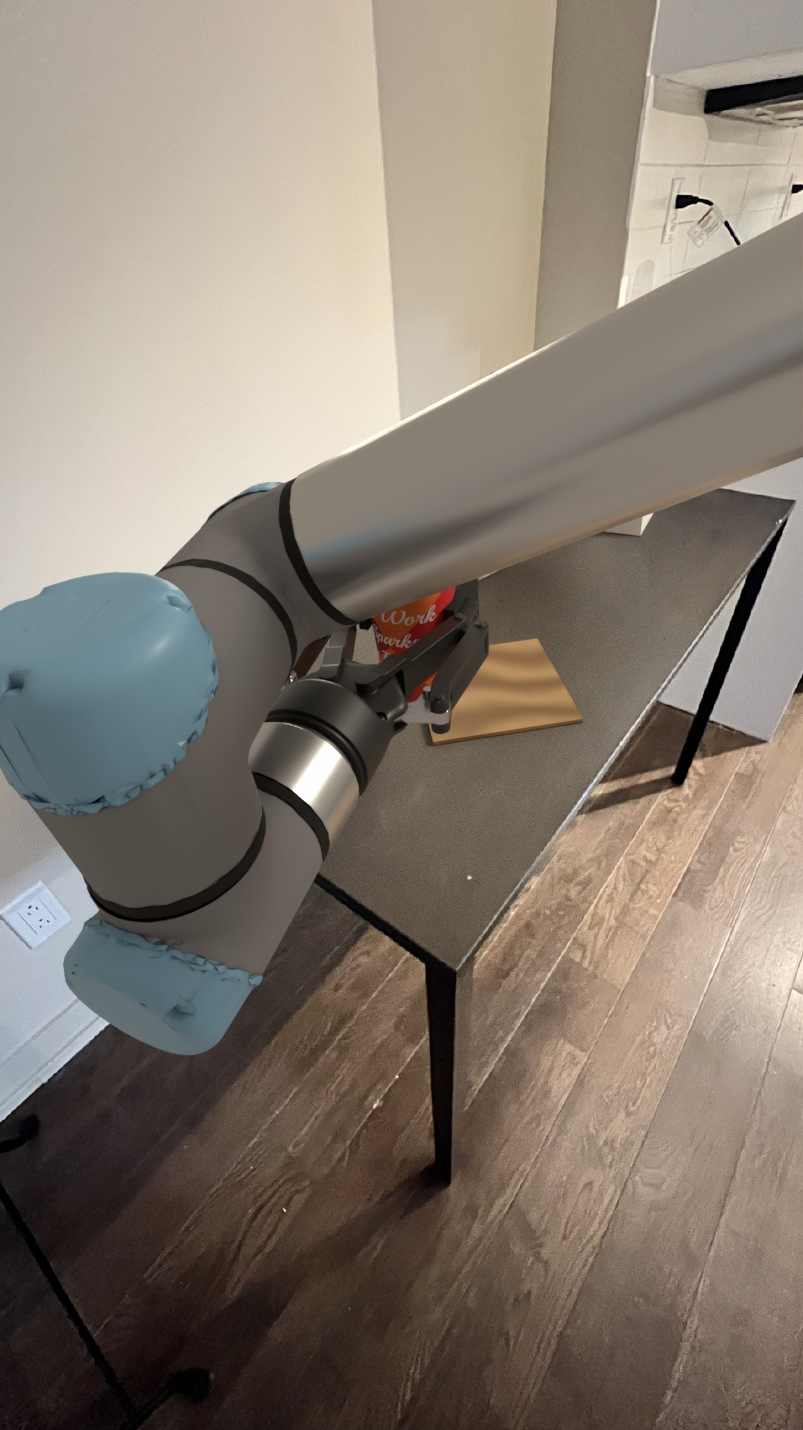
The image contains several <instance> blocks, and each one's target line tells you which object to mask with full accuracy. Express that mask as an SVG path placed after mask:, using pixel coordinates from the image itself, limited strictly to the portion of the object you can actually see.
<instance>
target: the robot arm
mask: <svg viewBox="0 0 803 1430" xmlns="http://www.w3.org/2000/svg"><path fill="white" fill-rule="evenodd" d="M492 373H493V374H491V375H490V374H488V375H489V376H488V375H487V376H485V377H483V378H482V379H479V380H478V381H476V382H474V383H472V384H470V385H468V386H466V387H464V388H462V389H461V390H459V391H457V392H454V393H452V394H450V395H448V396H447V397H444V398H443V399H441V400H439V401H437V402H436V403H433V404H431V405H429V406H428V407H426V408H423V409H422V410H420V411H417V412H416V413H415V414H413V415H411V416H409V417H407V418H405V419H403V420H401V421H398V422H397V423H395V424H393V425H391V426H390V427H387V428H386V429H384V430H382V431H380V432H378V433H376V434H374V435H372V436H370V437H368V438H366V439H365V440H362V441H360V442H358V443H356V444H354V445H353V446H351V447H349V448H347V449H345V450H343V451H341V452H340V453H337V454H336V455H334V456H332V457H330V458H328V459H326V460H324V461H322V462H320V463H318V464H316V465H315V466H313V467H311V468H309V469H307V470H305V471H303V472H301V473H299V474H298V475H297V476H296V477H294V478H292V479H290V480H287V481H285V482H281V481H271V482H270V481H268V482H261V483H257V484H253V485H251V486H249V487H247V488H245V489H244V490H243V491H241V492H240V493H238V494H237V495H235V496H233V497H231V498H229V499H228V500H227V501H226V502H224V503H223V504H221V505H220V506H218V507H217V508H216V509H214V510H213V511H211V513H210V514H209V516H208V517H207V519H206V520H205V522H204V523H203V524H202V526H201V527H200V528H199V530H197V532H195V534H194V535H192V537H190V539H189V540H188V541H187V542H186V543H185V544H184V545H183V546H182V547H181V548H180V549H179V550H178V551H177V552H176V553H175V554H174V555H172V557H171V558H170V559H169V560H168V561H167V562H166V563H165V564H164V565H163V566H162V567H161V569H159V570H158V571H157V572H156V573H154V574H148V573H141V572H129V571H112V572H111V571H110V572H101V573H95V574H89V575H88V574H87V575H82V576H78V577H74V578H70V579H67V580H63V581H60V582H57V583H53V584H50V585H48V586H45V587H43V588H42V590H41V591H40V593H38V594H37V595H34V596H32V597H30V598H26V599H23V600H18V601H14V602H12V603H9V604H7V605H6V606H4V607H3V608H2V609H0V770H1V772H2V774H3V776H4V778H5V779H6V781H7V783H8V784H9V786H10V787H11V788H12V789H14V791H15V792H16V793H17V794H18V796H19V797H20V798H21V799H22V800H24V801H26V802H27V803H28V804H29V806H30V807H31V808H32V810H33V811H34V812H35V814H36V815H37V817H38V818H39V819H40V820H41V822H42V823H43V824H44V826H45V827H46V828H47V830H48V831H49V833H50V834H51V835H52V836H53V838H54V839H55V841H56V842H57V843H58V845H59V846H60V847H61V849H62V850H63V852H65V854H66V856H68V858H69V859H70V861H71V862H72V863H73V864H74V866H75V868H76V869H77V870H78V871H79V872H80V874H81V875H82V878H83V881H84V883H85V885H86V890H87V892H88V895H89V898H90V899H91V900H92V902H93V903H94V905H95V906H96V908H97V909H98V911H97V912H96V913H95V914H94V915H92V916H91V917H89V918H88V919H87V920H86V921H84V922H83V925H82V929H81V931H80V932H79V934H78V936H77V937H76V938H75V940H74V941H73V943H72V945H70V947H69V948H68V950H67V951H66V952H65V955H64V958H63V963H62V967H63V973H64V974H63V976H64V982H65V984H66V986H67V987H68V989H69V990H70V991H71V993H72V994H73V995H74V996H75V997H76V998H77V999H78V1000H79V1001H80V1002H81V1003H82V1004H83V1005H85V1006H86V1007H87V1008H88V1009H89V1010H90V1011H92V1012H93V1013H94V1014H96V1015H97V1016H98V1017H100V1018H101V1019H103V1020H104V1021H105V1022H107V1023H108V1024H110V1025H112V1026H113V1027H115V1028H116V1029H118V1030H119V1031H121V1032H123V1034H126V1035H128V1036H129V1037H132V1038H134V1039H136V1040H138V1041H139V1042H141V1043H144V1044H146V1045H149V1046H150V1047H153V1048H156V1049H159V1050H161V1051H164V1052H166V1053H170V1054H175V1055H178V1056H179V1055H180V1056H195V1055H196V1056H197V1055H200V1054H204V1053H206V1052H208V1051H209V1050H211V1049H212V1048H214V1047H215V1046H216V1045H217V1044H219V1042H220V1041H221V1040H222V1039H223V1037H224V1036H225V1034H226V1032H227V1031H228V1029H229V1028H230V1026H231V1025H232V1023H233V1021H234V1019H235V1017H236V1016H237V1014H238V1013H239V1012H240V1010H241V1008H242V1006H243V1005H244V1003H245V1001H246V1000H247V998H248V997H249V995H250V993H251V992H252V990H253V989H255V988H256V987H258V986H260V984H261V983H262V981H263V980H264V979H263V978H264V975H263V974H264V973H265V971H266V969H267V967H268V966H269V964H270V962H271V960H272V959H273V956H274V955H275V952H276V950H277V948H278V947H279V945H280V944H281V941H282V940H283V937H284V936H285V934H286V932H287V930H288V928H289V926H290V925H291V923H292V921H293V920H294V918H295V915H296V914H297V912H298V910H299V908H300V906H301V905H302V903H303V902H304V899H305V897H306V896H307V894H308V892H309V890H310V888H311V886H312V884H313V883H314V881H315V879H316V878H317V875H318V873H319V871H320V869H321V867H322V866H323V863H325V860H326V858H327V857H328V855H329V854H330V853H331V851H332V849H333V848H334V845H335V844H336V841H337V840H338V838H339V837H340V834H341V833H342V831H343V829H344V827H345V826H346V824H347V822H348V820H349V819H350V817H351V816H352V813H353V812H354V810H355V808H356V807H357V804H358V802H359V798H360V797H361V796H362V795H363V794H364V792H366V789H367V787H368V786H369V784H370V783H371V781H372V779H373V777H374V775H375V773H376V771H377V770H378V768H379V766H380V765H381V763H382V761H383V759H384V757H385V755H386V753H387V750H388V748H389V745H390V743H391V741H392V739H393V738H394V737H396V736H397V735H398V734H400V733H401V732H402V731H404V730H406V728H407V727H408V725H409V724H421V725H422V724H427V725H428V724H431V727H432V731H433V732H434V733H436V734H445V733H447V732H448V731H449V730H450V727H451V714H452V710H453V709H454V707H455V705H456V704H457V702H458V701H459V699H460V698H461V696H462V695H463V693H464V692H465V690H466V689H467V687H468V685H469V684H470V682H471V681H472V679H473V678H474V676H475V675H476V673H477V672H478V670H479V669H480V667H481V666H482V664H483V662H484V661H485V659H486V658H487V656H488V655H489V645H490V624H489V622H488V621H485V620H480V600H479V581H478V578H479V577H482V576H484V575H487V574H490V573H492V572H495V571H497V572H499V571H500V570H504V569H506V568H508V567H512V566H514V565H516V564H520V563H522V562H524V561H527V560H530V559H533V558H535V557H538V556H540V555H543V554H546V553H549V552H553V551H554V550H557V549H559V548H562V547H566V546H567V545H571V544H574V543H576V542H578V541H581V540H583V539H586V538H590V537H592V536H595V535H598V534H600V533H603V532H605V531H606V530H608V529H611V528H614V527H616V526H619V525H622V524H624V523H627V522H630V521H632V520H635V519H638V518H640V517H643V516H646V515H649V514H651V513H653V514H654V513H656V512H660V511H662V510H665V509H668V508H670V507H674V506H676V505H678V504H681V503H683V502H686V501H689V500H692V499H694V498H696V497H699V496H702V495H705V494H707V493H708V494H709V493H710V492H713V491H715V490H718V489H721V488H724V487H726V486H729V485H732V484H735V483H737V482H740V481H742V480H745V479H748V478H750V477H754V476H756V475H759V474H761V473H765V472H767V471H769V470H772V469H774V468H775V469H776V468H777V467H780V466H783V465H785V464H788V463H791V462H795V461H797V460H799V459H802V458H803V211H802V212H800V213H798V214H796V215H794V216H792V217H791V218H790V217H789V218H788V219H786V220H784V221H783V222H780V223H779V224H777V225H775V226H773V227H771V228H769V229H768V230H765V231H764V232H761V233H759V234H758V235H756V236H753V237H752V238H750V239H748V240H746V241H744V242H742V243H741V244H739V245H736V246H735V247H732V248H731V249H729V250H727V251H725V252H724V253H721V254H720V255H718V256H716V257H714V258H712V259H710V260H708V261H706V262H704V263H702V264H700V265H698V266H696V267H694V268H693V269H691V270H688V271H687V272H685V273H683V274H681V275H679V276H676V277H675V278H673V279H672V280H669V281H667V282H666V283H664V284H662V285H660V286H658V287H657V288H654V289H652V290H650V291H648V292H646V293H644V294H642V295H641V296H639V297H637V298H635V299H633V300H631V301H629V302H628V303H625V304H623V305H621V306H620V307H618V308H616V309H614V310H612V311H610V312H607V313H606V314H604V315H603V316H600V317H598V318H597V319H595V320H593V321H591V322H588V323H587V324H585V325H583V326H581V327H579V328H577V329H576V330H574V331H571V332H570V333H568V334H566V335H564V336H562V337H560V338H559V339H557V340H555V341H553V342H550V343H549V344H547V345H544V346H543V347H541V348H538V349H537V350H535V351H533V352H531V353H530V354H527V355H525V356H524V357H522V358H520V359H518V360H516V361H514V362H512V363H510V364H508V365H507V366H504V367H502V368H501V369H499V370H497V371H495V372H492ZM495 573H496V572H495ZM452 587H454V588H455V587H457V588H456V589H455V590H454V597H453V599H452V601H451V602H450V603H449V604H448V605H447V606H446V607H445V609H444V614H445V621H444V622H443V623H441V624H440V625H439V626H437V627H436V628H435V629H433V630H432V631H431V632H429V633H428V634H426V635H425V636H424V637H422V638H421V639H420V640H418V641H417V642H416V643H414V644H413V645H412V646H410V647H409V648H408V649H406V650H405V651H404V652H402V653H401V654H400V655H398V654H395V653H392V654H390V655H389V656H388V657H386V658H385V659H384V660H382V661H381V662H380V661H379V662H378V663H370V664H369V663H366V664H365V663H362V662H359V661H356V660H353V658H354V652H355V646H356V641H357V640H356V639H357V635H358V634H357V633H358V629H359V630H362V631H363V630H364V631H369V630H370V629H371V627H373V625H372V620H371V617H374V616H377V615H379V614H382V613H385V612H388V611H390V610H393V609H396V608H398V607H401V606H404V605H406V604H409V603H412V602H414V601H417V600H420V599H423V598H425V597H428V596H431V595H433V594H436V593H439V592H441V591H444V590H447V589H449V588H452ZM357 626H358V628H357ZM328 642H329V643H328ZM327 643H328V646H327ZM324 648H325V650H324ZM323 650H324V654H323V658H322V663H321V665H320V666H319V669H318V670H315V671H313V672H311V673H309V671H310V670H311V668H312V667H313V665H314V664H315V662H316V660H317V659H318V658H319V656H320V654H321V653H322V651H323ZM437 671H438V672H437ZM436 672H437V673H436ZM308 673H309V674H308ZM435 673H436V675H435V676H434V678H433V680H432V683H431V687H430V686H425V687H424V688H423V693H422V694H421V695H420V696H419V698H418V699H417V700H416V701H414V702H408V701H409V700H410V699H411V697H412V695H413V692H414V690H415V689H416V688H417V687H419V686H420V685H421V684H422V683H424V682H425V681H426V680H427V679H428V678H430V677H431V676H432V675H433V674H435Z"/></svg>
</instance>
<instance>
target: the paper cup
mask: <svg viewBox="0 0 803 1430" xmlns="http://www.w3.org/2000/svg"><path fill="white" fill-rule="evenodd" d="M454 593H455V587H452V588H449V589H447V590H444V591H441V592H439V593H436V594H433V595H431V596H428V597H425V598H423V599H420V600H417V601H414V602H412V603H409V604H406V605H404V606H401V607H398V608H396V609H393V610H390V611H388V612H385V613H382V614H379V615H377V616H374V617H371V620H372V630H373V635H374V640H375V645H376V650H377V655H378V661H379V663H380V662H381V661H382V660H384V659H385V658H386V657H388V656H389V655H390V654H392V653H395V654H398V655H400V654H401V653H402V652H404V651H405V650H406V649H408V648H409V647H410V646H412V645H413V644H414V643H416V642H417V641H418V640H420V639H421V638H422V637H424V636H425V635H426V634H428V633H429V632H431V631H432V630H433V629H435V628H436V627H437V626H439V625H440V624H441V623H443V622H444V621H445V614H444V609H445V607H446V606H447V605H448V604H449V603H450V602H451V601H452V599H453V597H454ZM437 672H438V671H437ZM437 672H436V673H437ZM436 673H435V674H433V675H432V676H431V677H430V678H428V679H427V680H426V681H425V682H424V683H422V684H421V685H420V686H419V687H417V688H416V689H415V690H414V692H413V695H412V697H411V699H410V700H409V701H408V702H414V701H416V700H417V699H418V698H419V696H420V695H421V694H422V693H423V688H424V687H425V686H430V687H431V683H432V680H433V678H434V676H435V675H436Z"/></svg>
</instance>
